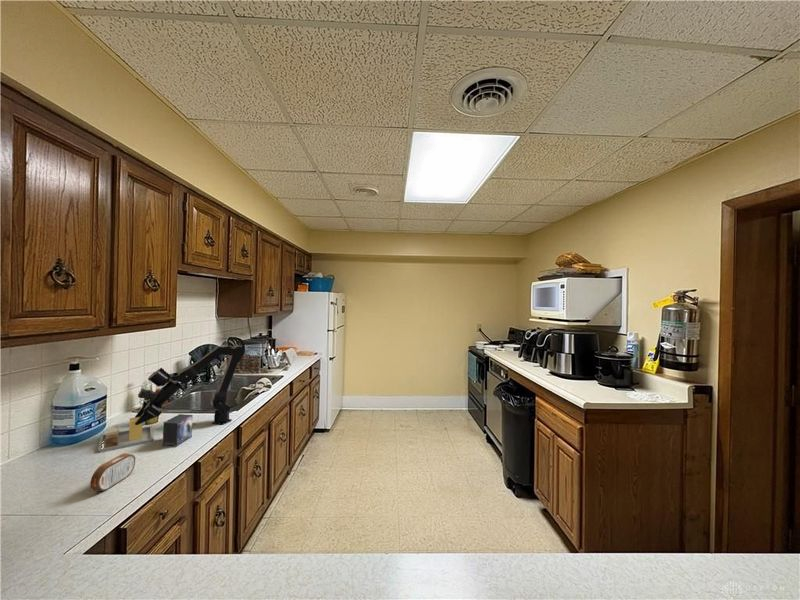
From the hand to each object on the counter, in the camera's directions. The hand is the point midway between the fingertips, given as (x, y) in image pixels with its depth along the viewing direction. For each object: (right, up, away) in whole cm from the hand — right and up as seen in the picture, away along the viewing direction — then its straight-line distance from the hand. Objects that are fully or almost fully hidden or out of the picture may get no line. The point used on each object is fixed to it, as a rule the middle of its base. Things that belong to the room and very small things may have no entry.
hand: (135, 421), depth 148 cm
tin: (+20, -9, -35) cm, 41 cm away
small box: (+20, -9, -2) cm, 22 cm away
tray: (-2, -8, -2) cm, 8 cm away
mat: (+8, -8, +14) cm, 18 cm away
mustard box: (0, -8, 0) cm, 7 cm away
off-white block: (-9, -7, -2) cm, 11 cm away
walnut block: (-4, -7, -8) cm, 11 cm away
